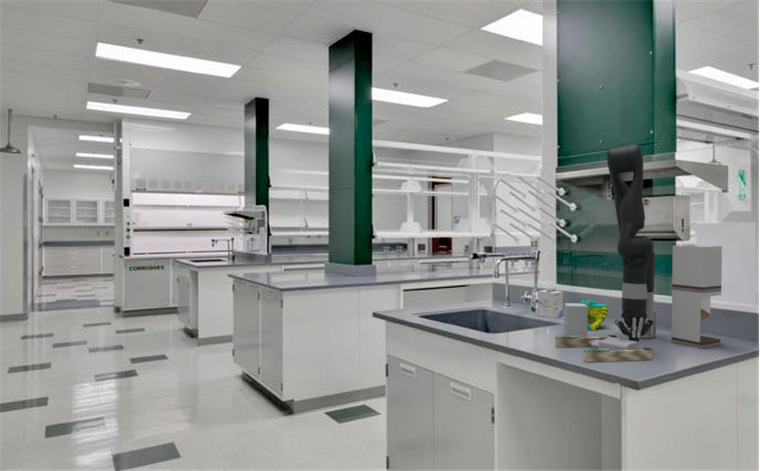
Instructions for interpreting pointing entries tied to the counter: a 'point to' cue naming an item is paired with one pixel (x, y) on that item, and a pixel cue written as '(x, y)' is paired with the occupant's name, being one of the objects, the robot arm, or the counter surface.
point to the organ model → (595, 313)
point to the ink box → (550, 303)
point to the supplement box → (575, 319)
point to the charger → (615, 344)
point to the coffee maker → (694, 292)
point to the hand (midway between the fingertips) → (633, 348)
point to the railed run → (602, 350)
